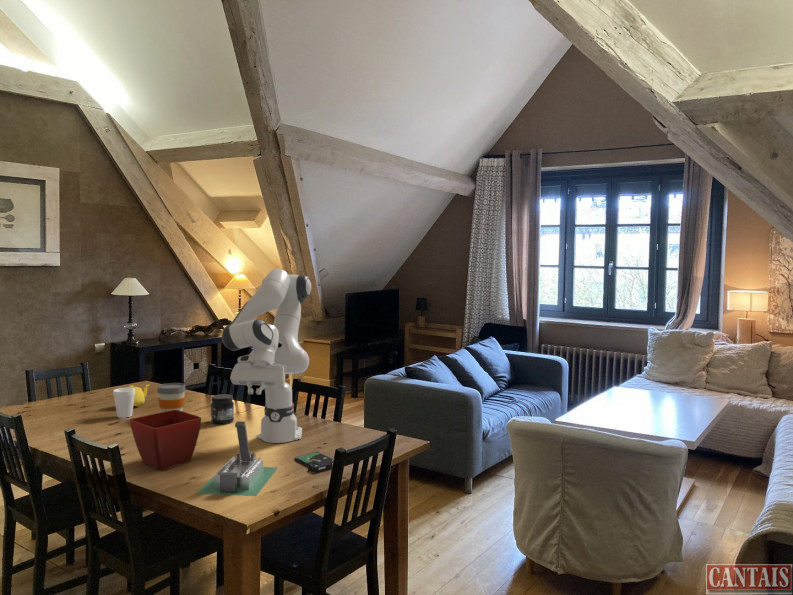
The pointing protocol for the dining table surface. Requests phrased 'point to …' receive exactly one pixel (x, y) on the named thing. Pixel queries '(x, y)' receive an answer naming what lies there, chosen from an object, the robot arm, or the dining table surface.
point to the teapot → (139, 395)
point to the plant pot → (166, 437)
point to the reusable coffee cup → (171, 396)
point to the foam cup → (124, 401)
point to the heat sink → (238, 474)
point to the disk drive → (315, 462)
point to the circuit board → (253, 491)
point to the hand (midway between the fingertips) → (254, 393)
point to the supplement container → (222, 409)
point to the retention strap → (243, 441)
